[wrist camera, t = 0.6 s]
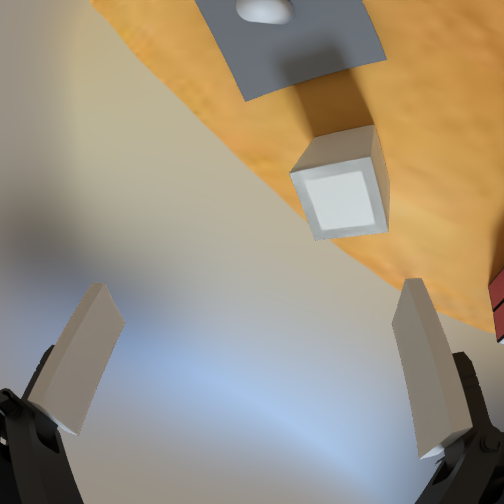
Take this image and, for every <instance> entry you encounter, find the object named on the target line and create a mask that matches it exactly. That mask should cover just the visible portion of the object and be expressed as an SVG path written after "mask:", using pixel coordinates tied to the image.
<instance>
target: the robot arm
mask: <svg viewBox="0 0 504 504" xmlns="http://www.w3.org/2000/svg"><path fill="white" fill-rule="evenodd" d="M124 324H125V321H124V320H123V318H122V316H121V314H120V312H119V311H118V309H117V307H116V305H115V303H114V301H113V299H112V297H111V295H110V293H109V291H108V289H107V287H106V285H105V283H92V284H91V286H90V287H89V289H88V291H87V292H86V294H85V295H84V297H83V299H82V300H81V302H80V304H79V305H78V306H77V308H76V310H75V311H74V313H73V315H72V316H71V318H70V320H69V322H68V323H67V325H66V327H65V328H64V330H63V332H62V334H61V336H60V337H59V339H58V341H57V343H56V344H55V345H52V346H51V347H50V348H49V349H48V350H47V351H46V352H45V353H44V355H43V357H42V359H41V360H40V364H39V365H38V366H37V368H36V371H35V372H34V374H33V376H32V378H31V380H30V382H29V384H28V386H27V388H26V390H25V392H24V394H23V396H22V398H21V399H20V398H18V397H17V396H16V395H15V394H14V393H13V392H12V391H11V390H10V389H7V388H4V389H2V390H0V437H2V438H3V439H5V440H6V444H5V445H4V444H2V443H1V442H0V504H84V503H83V500H82V498H81V495H80V493H79V490H78V488H77V485H76V482H75V480H74V477H73V474H72V471H71V468H70V465H69V462H68V459H67V456H66V453H65V449H64V446H63V443H62V439H61V435H60V433H59V431H58V430H57V427H58V426H60V427H61V428H62V429H64V430H65V431H67V432H70V433H72V434H75V435H77V436H79V433H80V431H81V428H82V425H83V422H84V420H85V417H86V414H87V411H88V409H89V406H90V404H91V401H92V399H93V396H94V394H95V391H96V389H97V386H98V384H99V381H100V379H101V377H102V374H103V372H104V370H105V367H106V365H107V363H108V360H109V358H110V356H111V353H112V351H113V349H114V347H115V344H116V342H117V340H118V338H119V336H120V333H121V331H122V329H123V327H124ZM392 327H393V330H394V334H395V338H396V341H397V346H398V350H399V354H400V358H401V362H402V366H403V371H404V375H405V380H406V384H407V389H408V394H409V399H410V405H411V409H412V416H413V421H414V426H415V434H416V440H417V448H418V455H419V459H422V458H426V457H430V456H434V455H438V454H439V453H440V452H442V451H443V450H444V453H445V456H444V457H443V458H441V459H440V460H438V461H437V463H436V464H435V466H438V465H439V464H440V465H439V467H438V468H437V470H436V472H435V473H434V475H433V477H432V478H431V480H430V482H429V483H428V485H427V486H426V488H425V489H424V491H423V492H422V494H421V495H420V497H419V498H418V500H417V501H416V502H415V504H504V432H500V430H498V429H497V428H496V427H494V426H493V425H492V423H491V421H490V419H489V415H488V412H487V408H486V405H485V401H484V398H483V395H482V391H481V388H480V386H479V382H478V379H477V377H476V373H475V370H474V367H473V364H472V361H471V360H470V359H469V358H468V356H467V355H466V354H465V353H464V352H458V353H453V354H452V353H451V350H450V347H449V344H448V342H447V339H446V336H445V334H444V331H443V328H442V326H441V323H440V321H439V318H438V315H437V313H436V311H435V308H434V306H433V303H432V301H431V299H430V296H429V294H428V292H427V289H426V287H425V285H424V283H423V280H422V278H414V279H405V282H404V285H403V289H402V292H401V296H400V299H399V302H398V306H397V309H396V312H395V315H394V318H393V321H392Z"/></svg>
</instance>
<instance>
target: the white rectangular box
mask: <svg viewBox="0 0 504 504" xmlns="http://www.w3.org/2000/svg"><path fill="white" fill-rule="evenodd" d="M289 174H290V177H291V179H292V182H293V184H294V187H295V189H296V192H297V194H298V197H299V200H300V202H301V205H302V207H303V210H304V213H305V215H306V218H307V220H308V223H309V226H310V228H311V231H312V234H313V237H314V239H315V241H316V240H324V239H333V238H342V237H350V236H359V235H368V234H377V233H386V232H388V229H389V203H390V181H389V177H388V173H387V169H386V165H385V161H384V157H383V153H382V149H381V146H380V142H379V138H378V135H377V132H376V128H375V125H374V124H373V125H368V126H363V127H358V128H353V129H349V130H344V131H340V132H335V133H331V134H327V135H323V136H319V137H314V139H313V140H312V142H311V143H310V144H309V146H308V147H307V149H306V150H305V151H304V153H303V154H302V156H301V157H300V159H299V160H298V161H297V163H296V164H295V166H294V167H293V168H292V170H291V171H290V173H289Z"/></svg>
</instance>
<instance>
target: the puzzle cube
mask: <svg viewBox="0 0 504 504" xmlns="http://www.w3.org/2000/svg"><path fill="white" fill-rule="evenodd" d="M488 289H489V294H490V299H491V304H492V310H493V312H494V313H493V316H494V323H495V330H496V337H497V342H498V343H500V344H503V345H504V268H503V270H502V271H501V272H500V273H499V275H498V276H497V277H496V278H495V279H494V281H493V282H492V283H491V284H490V285H489V286H488Z"/></svg>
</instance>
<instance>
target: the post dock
mask: <svg viewBox="0 0 504 504" xmlns="http://www.w3.org/2000/svg"><path fill="white" fill-rule="evenodd" d="M195 2H196V4H197V6H198V8H199V10H200V11H201V13H202V15H203V17H204V19H205V21H206V23H207V25H208V27H209V29H210V30H211V32H212V34H213V36H214V38H215V40H216V42H217V44H218V46H219V48H220V50H221V52H222V54H223V56H224V58H225V60H226V62H227V64H228V66H229V68H230V70H231V72H232V75H233V77H234V79H235V81H236V83H237V85H238V87H239V89H240V91H241V93H242V96H243V98H244V100H245V102H247V101H249V100H252V99H254V98H257V97H260V96H262V95H265V94H268V93H271V92H273V91H276V90H279V89H282V88H285V87H288V86H291V85H294V84H297V83H300V82H303V81H307V80H310V79H313V78H316V77H320V76H323V75H327V74H330V73H334V72H338V71H341V70H345V69H349V68H353V67H357V66H361V65H366V64H370V63H375V62H379V61H384V60H387V59H386V56H385V54H384V51H383V48H382V46H381V43H380V41H379V38H378V36H377V34H376V31H375V29H374V26H373V24H372V22H371V20H370V17H369V15H368V13H367V11H366V9H365V7H364V4H363V2H362V0H195Z"/></svg>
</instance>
